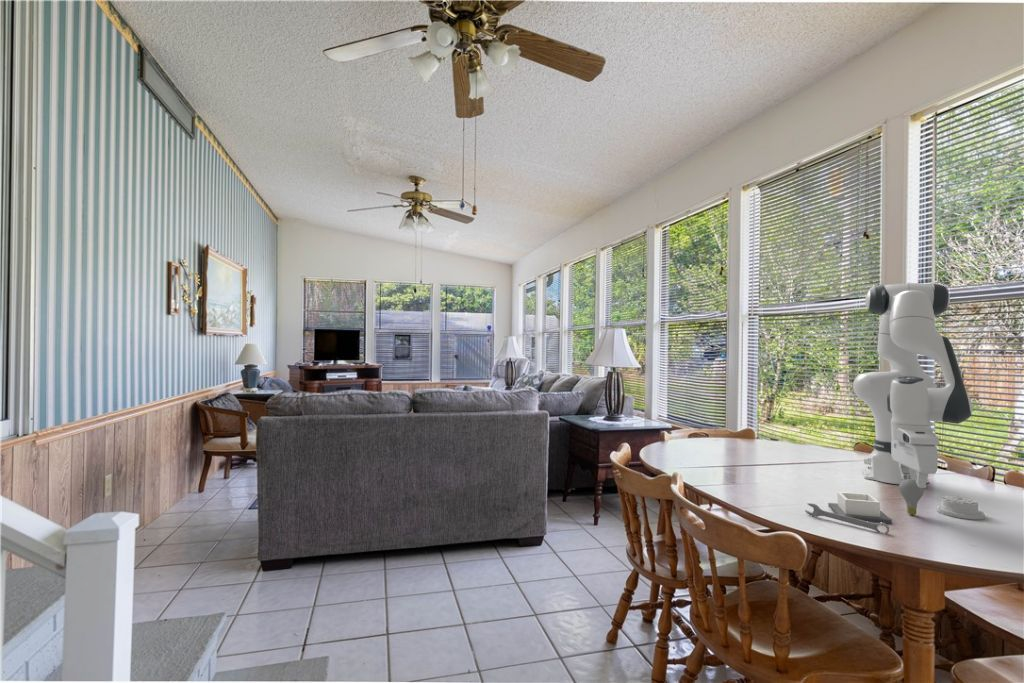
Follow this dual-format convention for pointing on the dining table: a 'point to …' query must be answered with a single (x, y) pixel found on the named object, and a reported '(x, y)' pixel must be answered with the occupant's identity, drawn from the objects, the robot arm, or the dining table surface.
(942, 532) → the dining table surface
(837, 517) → the combination wrench
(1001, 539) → the dining table surface
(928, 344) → the robot arm
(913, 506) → the light bulb
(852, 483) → the dining table surface
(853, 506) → the lamp base
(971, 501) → the mechanical component
